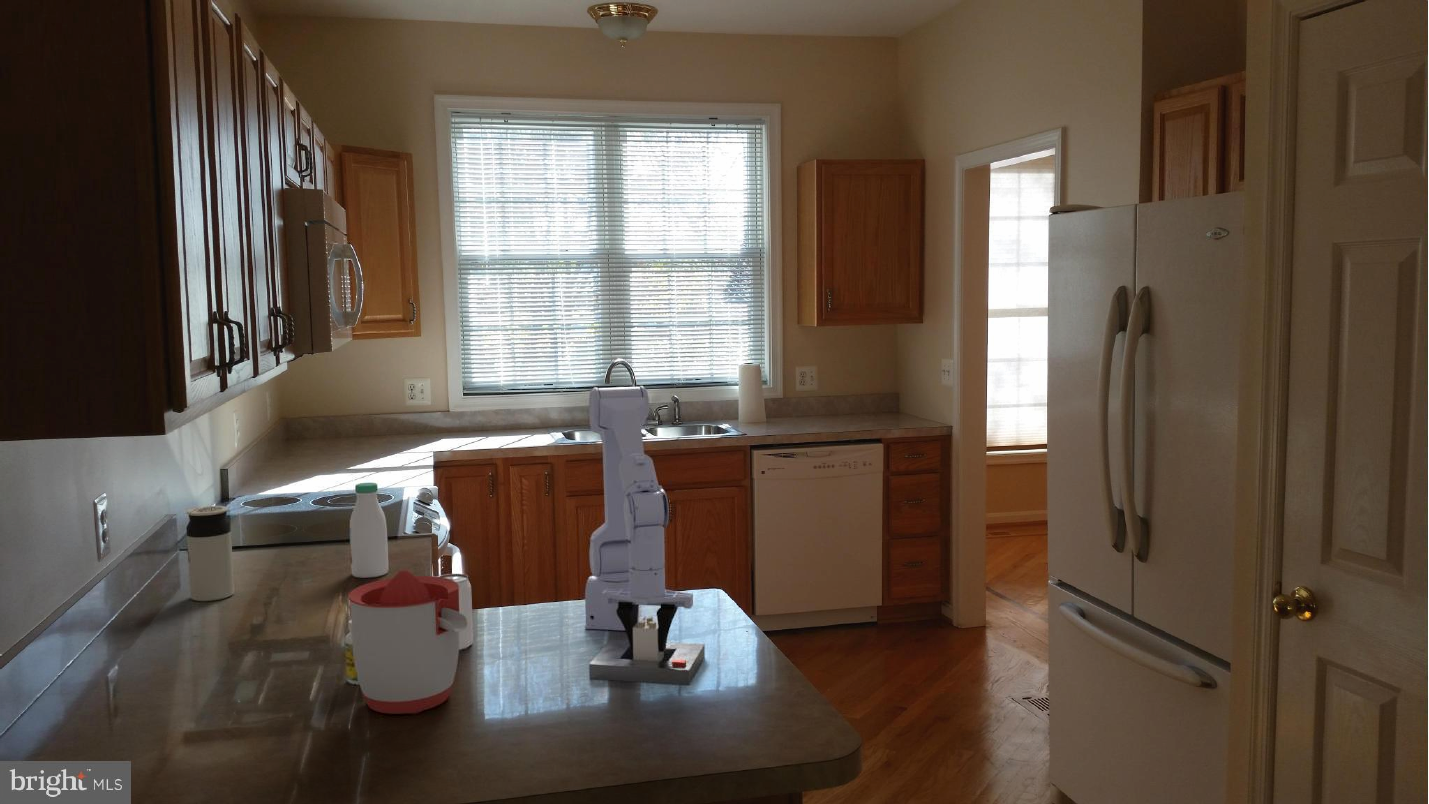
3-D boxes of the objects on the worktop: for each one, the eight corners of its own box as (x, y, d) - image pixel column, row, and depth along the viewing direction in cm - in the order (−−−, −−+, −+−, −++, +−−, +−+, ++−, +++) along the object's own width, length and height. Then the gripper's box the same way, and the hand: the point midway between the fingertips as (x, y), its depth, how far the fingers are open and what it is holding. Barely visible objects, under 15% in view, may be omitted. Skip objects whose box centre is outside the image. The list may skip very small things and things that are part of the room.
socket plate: (589, 678, 160) (589, 660, 160) (611, 652, 172) (611, 635, 171) (689, 685, 157) (688, 666, 157) (704, 658, 169) (704, 640, 168)
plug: (633, 664, 163) (632, 622, 162) (640, 655, 167) (639, 615, 166) (657, 665, 162) (657, 624, 161) (663, 656, 166) (663, 616, 165)
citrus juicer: (436, 729, 142) (431, 588, 140) (330, 715, 147) (323, 579, 145) (492, 688, 157) (488, 560, 155) (394, 677, 162) (389, 553, 160)
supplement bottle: (390, 677, 162) (387, 618, 161) (361, 688, 157) (358, 627, 156) (368, 671, 165) (365, 612, 164) (339, 681, 160) (336, 621, 159)
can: (480, 645, 176) (478, 577, 175) (447, 655, 172) (445, 585, 170) (459, 637, 181) (457, 570, 180) (427, 646, 176) (424, 578, 175)
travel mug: (241, 590, 212) (236, 505, 210) (223, 602, 204) (218, 513, 202) (202, 591, 211) (196, 505, 210) (183, 602, 203) (177, 513, 202)
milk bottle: (396, 572, 225) (392, 482, 223) (367, 580, 218) (363, 488, 216) (372, 567, 229) (369, 479, 227) (344, 575, 222) (339, 485, 220)
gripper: (595, 570, 160) (597, 654, 162) (685, 574, 157) (686, 660, 159) (608, 559, 167) (610, 640, 168) (695, 563, 164) (696, 645, 166)
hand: (648, 649), depth 164 cm, fingers closed on plug, 4 cm apart
